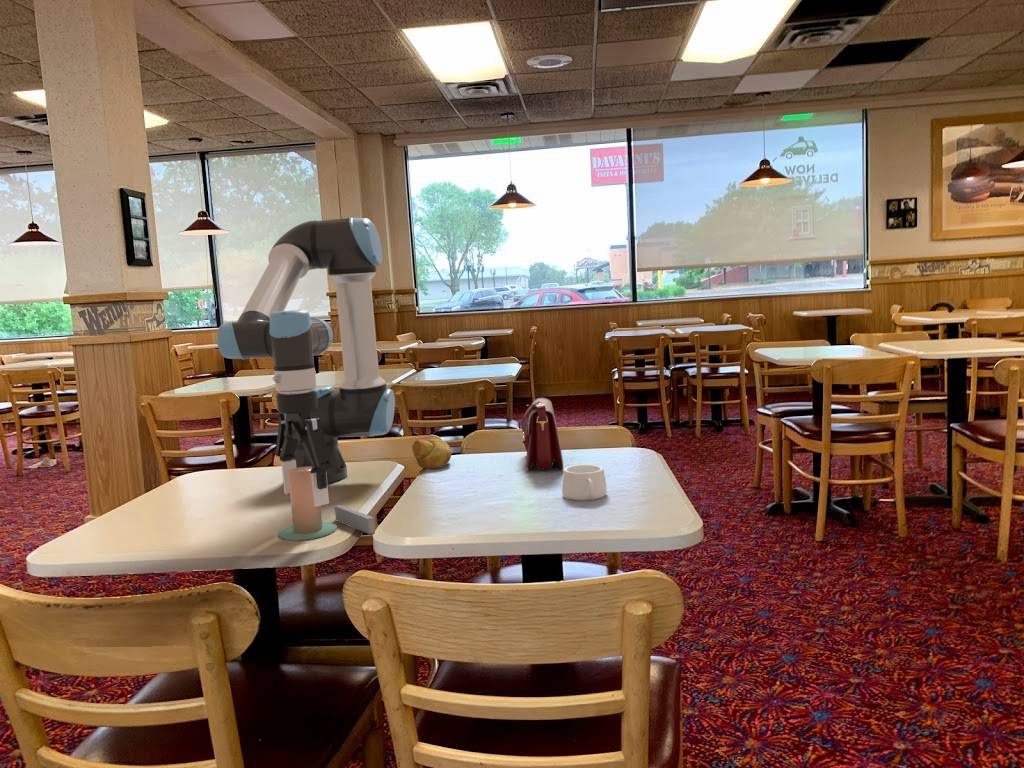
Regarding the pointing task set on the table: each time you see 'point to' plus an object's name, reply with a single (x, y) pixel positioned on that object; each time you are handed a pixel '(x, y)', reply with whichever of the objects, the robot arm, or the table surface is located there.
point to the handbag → (541, 435)
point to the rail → (355, 519)
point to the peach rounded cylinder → (303, 502)
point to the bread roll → (431, 453)
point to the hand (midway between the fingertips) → (306, 498)
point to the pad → (290, 535)
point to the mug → (584, 482)
